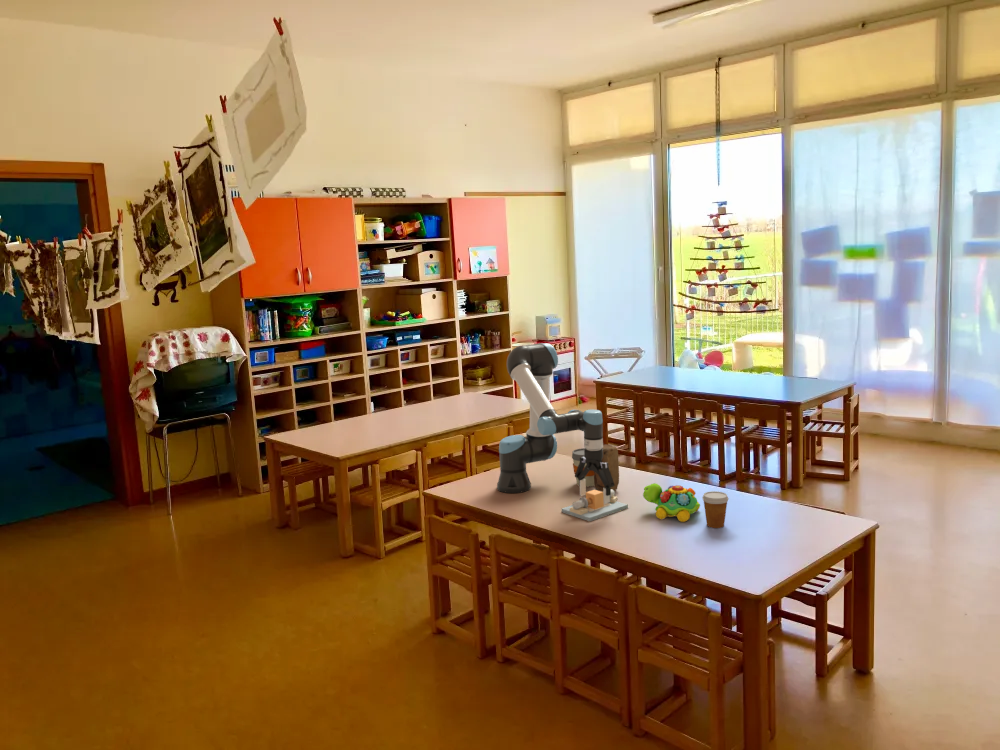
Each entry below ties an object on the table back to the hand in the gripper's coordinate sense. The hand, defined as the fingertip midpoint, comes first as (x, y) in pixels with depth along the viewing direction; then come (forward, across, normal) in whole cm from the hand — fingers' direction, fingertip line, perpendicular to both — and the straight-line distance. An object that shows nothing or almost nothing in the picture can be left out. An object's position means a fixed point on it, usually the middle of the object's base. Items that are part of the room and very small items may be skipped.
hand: (594, 498), depth 324 cm
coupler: (+3, +1, 0) cm, 3 cm away
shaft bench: (+4, 0, 0) cm, 5 cm away
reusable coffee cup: (+5, -28, +23) cm, 36 cm away
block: (+5, -14, +22) cm, 27 cm away
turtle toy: (+5, +25, +17) cm, 31 cm away
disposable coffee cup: (+4, +45, +19) cm, 49 cm away
